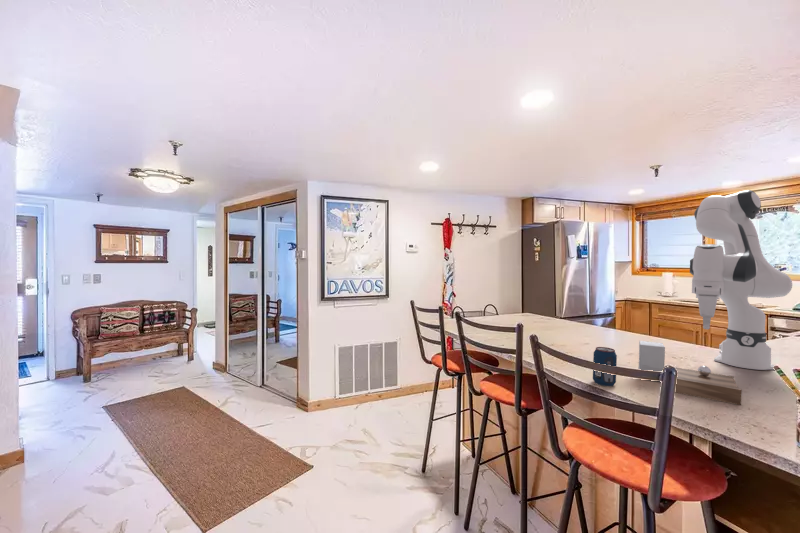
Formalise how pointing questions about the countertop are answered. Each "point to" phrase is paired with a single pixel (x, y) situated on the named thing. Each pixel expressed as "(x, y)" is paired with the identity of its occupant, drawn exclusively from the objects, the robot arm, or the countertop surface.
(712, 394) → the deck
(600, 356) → the soda can
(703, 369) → the ball
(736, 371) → the countertop surface
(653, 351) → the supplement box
